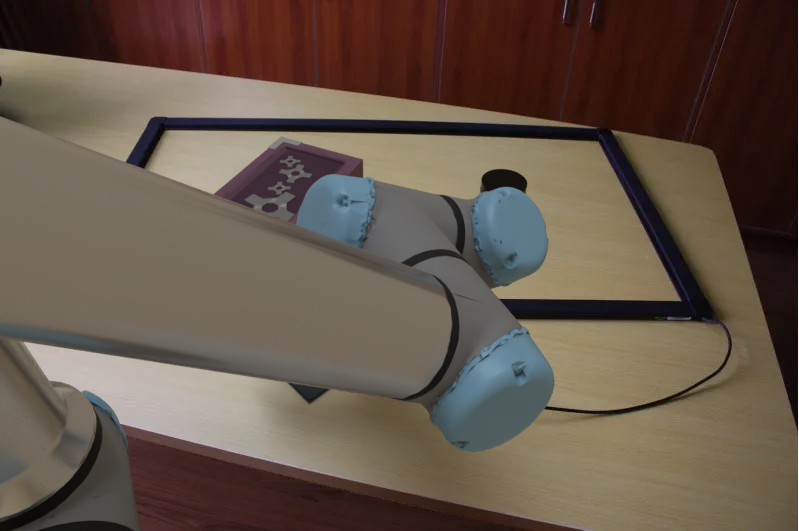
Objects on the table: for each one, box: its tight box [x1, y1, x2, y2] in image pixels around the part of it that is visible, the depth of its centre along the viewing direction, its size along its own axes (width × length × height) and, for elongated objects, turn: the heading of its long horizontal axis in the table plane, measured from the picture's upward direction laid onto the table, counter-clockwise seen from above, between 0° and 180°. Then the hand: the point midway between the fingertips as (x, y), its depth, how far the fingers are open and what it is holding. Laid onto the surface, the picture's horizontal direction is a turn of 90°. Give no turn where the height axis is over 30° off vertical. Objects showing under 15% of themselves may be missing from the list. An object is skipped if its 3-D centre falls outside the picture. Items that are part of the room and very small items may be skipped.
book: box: [213, 136, 364, 224], centre depth 103 cm, size 25×16×5 cm, turn 156°
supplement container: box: [479, 168, 528, 195], centre depth 97 cm, size 7×7×10 cm
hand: (299, 317), depth 78 cm, fingers open, 13 cm apart
